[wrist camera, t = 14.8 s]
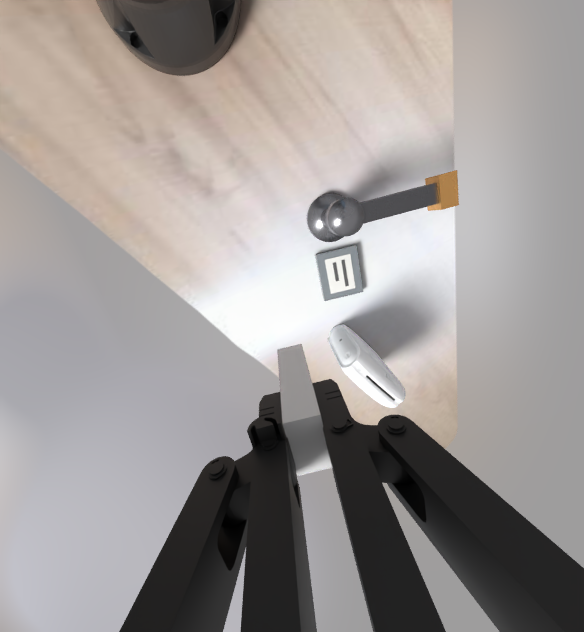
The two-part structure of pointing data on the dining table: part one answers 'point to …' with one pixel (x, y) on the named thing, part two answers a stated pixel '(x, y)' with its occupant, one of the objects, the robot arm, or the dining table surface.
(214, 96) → the dining table surface
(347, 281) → the label tile
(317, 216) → the round-base stand
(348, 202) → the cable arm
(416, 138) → the dining table surface
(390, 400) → the photo printer
